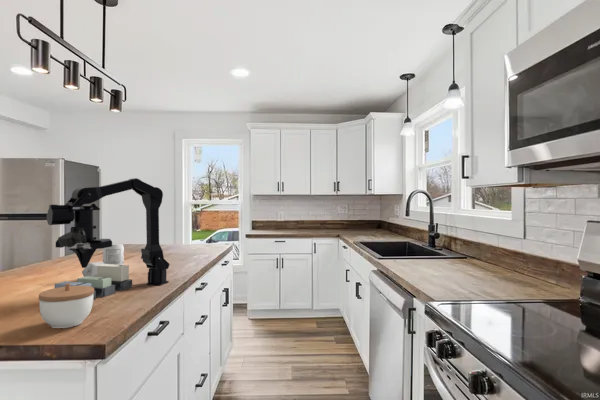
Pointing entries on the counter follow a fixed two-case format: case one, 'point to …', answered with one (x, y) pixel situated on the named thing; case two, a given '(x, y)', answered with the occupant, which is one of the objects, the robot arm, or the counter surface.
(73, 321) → the lidded bowl
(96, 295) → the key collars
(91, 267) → the grey angular block
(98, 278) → the sage key
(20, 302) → the counter surface
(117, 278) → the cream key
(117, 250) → the supplement can
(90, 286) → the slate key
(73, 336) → the counter surface
